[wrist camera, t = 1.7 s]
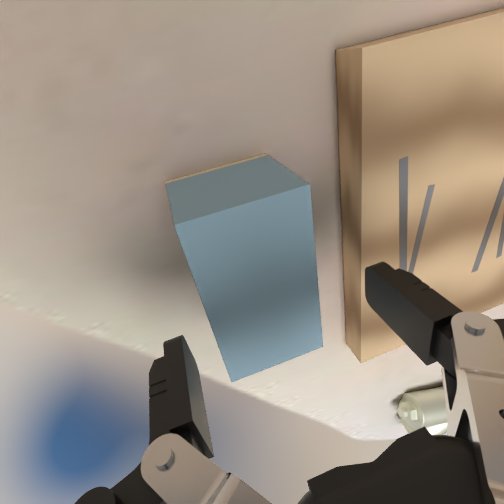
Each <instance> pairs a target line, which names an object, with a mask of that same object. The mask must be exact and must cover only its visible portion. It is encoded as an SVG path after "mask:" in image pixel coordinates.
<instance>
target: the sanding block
mask: <svg viewBox="0 0 504 504" xmlns="http://www.w3.org/2000/svg"><path fill="white" fill-rule="evenodd" d="M165 184H166V189H167V194H168V199H169V204H170V208H171V213H172V218H173V223H174V227H175V229H176V232H177V235H178V238H179V240H180V243H181V246H182V248H183V251H184V254H185V257H186V259H187V262H188V265H189V268H190V270H191V273H192V276H193V278H194V281H195V284H196V287H197V289H198V292H199V295H200V298H201V300H202V303H203V306H204V309H205V311H206V314H207V317H208V319H209V322H210V325H211V328H212V330H213V333H214V336H215V339H216V341H217V344H218V347H219V349H220V352H221V355H222V358H223V360H224V363H225V366H226V369H227V371H228V374H229V377H230V379H231V382H234V381H236V380H239V379H241V378H244V377H246V376H249V375H252V374H254V373H257V372H259V371H262V370H264V369H267V368H270V367H272V366H275V365H277V364H280V363H282V362H285V361H287V360H290V359H293V358H295V357H298V356H300V355H303V354H305V353H308V352H310V351H313V350H316V349H318V348H321V347H323V340H322V327H321V315H320V302H319V290H318V277H317V265H316V252H315V240H314V227H313V215H312V202H311V190H310V184H309V183H307V182H306V181H305V180H303V179H302V178H300V177H299V176H297V175H296V174H295V173H293V172H292V171H290V170H289V169H287V168H286V167H285V166H283V165H282V164H280V163H279V162H277V161H276V160H275V159H273V158H272V157H270V156H269V155H267V154H266V153H265V154H262V155H258V156H254V157H251V158H247V159H244V160H240V161H237V162H233V163H229V164H226V165H222V166H219V167H215V168H211V169H208V170H204V171H201V172H197V173H193V174H190V175H186V176H183V177H179V178H175V179H172V180H168V181H165Z"/></svg>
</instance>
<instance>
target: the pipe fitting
mask: <svg viewBox="0 0 504 504" xmlns="http://www.w3.org/2000/svg"><path fill="white" fill-rule="evenodd" d="M397 412H398V415H399V416H400V417H399V420H400V421H401V423H402V424H403V426H404V427H405V429H406V430H407V431H408V433H411V432H413V431H416V430H418V429H420V428H422V427H424V426H425V427H426V429H427V430H428V431H429V432H430V434H431V435H444V434H445V433H446V432H447V410H446V402H445V395H444V387H438V388H432V389H426V390H421V391H415V392H409V393H404V395H403V397H402V399H401V400H400V402H399V408H398V409H397Z"/></svg>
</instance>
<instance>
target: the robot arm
mask: <svg viewBox="0 0 504 504" xmlns="http://www.w3.org/2000/svg"><path fill="white" fill-rule="evenodd" d="M365 297H366V300H367V302H368V304H369V306H370V307H371V308H372V309H373V310H374V311H375V312H376V313H377V314H378V315H379V317H380V318H381V319H382V320H383V321H384V322H385V323H386V324H387V325H388V326H389V327H390V328H391V329H392V330H393V331H394V332H395V333H396V334H397V335H398V336H399V337H400V338H401V339H402V340H403V341H404V342H405V343H406V345H407V346H408V347H409V348H410V349H411V350H412V351H413V352H414V353H415V354H416V355H417V356H418V357H419V358H420V359H421V360H422V361H423V362H424V363H425V364H426V365H429V364H432V363H434V362H436V361H438V362H439V363H440V364H441V365H442V369H441V372H442V380H443V387H444V395H445V402H446V410H447V435H431V434H430V432H429V431H428V430H427V429H426V427H425V426H424V427H422V428H420V429H418V430H416V431H413V432H411V433H409V434H407V435H405V436H403V437H400V438H398V439H397V440H396V441H395V442H394V443H392V444H391V445H390V446H389V447H388V448H387V449H386V450H385V451H384V452H383V453H382V454H381V455H380V456H379V457H378V458H377V459H376V460H375V461H373V462H370V463H363V464H355V465H347V466H339V467H336V468H334V469H331V470H329V471H327V472H325V473H323V474H321V475H318V476H316V477H314V478H312V479H310V480H308V481H307V482H308V486H309V489H310V490H309V491H308V492H307V493H306V494H305V495H304V496H303V498H302V499H301V500H300V501H299V503H298V504H504V319H496V320H492V319H491V318H489V317H488V316H486V315H483V314H480V313H477V312H468V311H467V312H463V311H462V310H460V309H459V308H458V307H456V306H455V305H454V304H452V303H451V302H450V301H448V300H447V299H446V298H444V297H443V296H442V295H440V294H439V293H438V292H436V291H435V290H434V289H432V288H430V286H428V285H427V284H426V283H424V282H422V280H420V279H419V278H418V277H416V276H415V275H414V274H412V273H410V272H407V271H405V270H402V269H400V268H398V269H396V270H395V269H394V268H392V267H391V266H390V265H389V264H387V263H386V262H383V261H382V262H379V263H377V264H374V265H371V266H369V267H366V268H365ZM149 386H150V388H149V397H150V399H149V411H150V414H149V416H150V442H149V446H148V448H147V450H146V451H145V453H144V455H143V458H142V461H141V463H140V464H139V465H138V466H137V468H135V470H133V471H132V472H131V473H130V474H129V475H128V476H126V477H125V478H124V479H123V480H122V481H120V482H119V483H118V484H116V485H115V486H114V487H113V488H111V489H108V488H106V487H96V488H94V489H91V490H90V491H88V492H86V493H85V494H84V495H83V496H81V497H80V499H78V501H77V502H76V503H75V504H272V503H270V502H269V501H268V500H266V499H265V498H264V497H263V496H261V495H260V494H259V493H258V492H256V491H255V490H254V489H252V488H251V487H250V486H249V485H247V484H246V483H245V482H244V481H242V480H241V479H240V478H238V477H237V476H235V475H234V474H232V473H226V472H225V471H223V470H222V469H220V468H219V467H218V466H217V465H216V464H214V463H213V462H212V461H211V460H209V459H210V458H212V457H214V454H213V449H212V443H211V437H210V432H209V426H208V421H207V415H206V409H205V404H204V398H203V393H202V387H201V382H200V376H199V371H198V367H197V364H196V362H195V359H194V357H193V355H192V353H191V351H190V349H189V347H188V344H187V342H186V340H185V338H184V336H183V335H181V336H178V337H176V338H173V339H170V340H168V341H165V342H164V357H161V358H158V359H156V360H154V362H153V365H152V367H151V369H150V372H149Z"/></svg>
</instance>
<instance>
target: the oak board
mask: <svg viewBox="0 0 504 504" xmlns="http://www.w3.org/2000/svg"><path fill="white" fill-rule="evenodd" d="M336 73H337V100H338V128H339V156H340V183H341V211H342V239H343V266H344V294H345V322H346V344H347V345H348V347H349V348H350V349H351V351H352V352H353V353H354V355H355V356H356V357H357V359H358V360H359V361H360V363H363V362H365V361H367V360H370V359H372V358H374V357H377V356H379V355H382V354H384V353H386V352H389V351H391V350H393V349H396V348H398V347H401V346H403V345H405V344H406V343H405V342H404V341H403V340H402V339H401V338H400V337H399V336H398V335H397V334H396V333H395V332H394V331H393V330H392V329H391V328H390V327H389V326H388V325H387V324H386V323H385V322H384V321H383V320H382V319H381V318H380V317H379V315H378V314H377V313H376V312H375V311H374V310H373V309H372V308H371V307H370V306H369V304H368V302H367V300H366V297H365V268H366V267H369V266H371V265H374V264H377V263H379V262H382V261H383V262H386V263H387V264H389V265H390V266H391V267H392V268H394V269H395V270H396V269H398V268H400V269H402V270H405V271H407V272H410V273H412V274H414V275H415V276H416V277H418V278H419V279H420V280H422V282H424V283H426V284H427V285H428V286H430V288H432V289H434V290H435V291H436V292H438V293H439V294H440V295H442V296H443V297H444V298H446V299H447V300H448V301H450V302H451V303H452V304H454V305H455V306H456V307H458V308H459V309H460V310H462V311H463V312H467V311H468V312H477V313H482V312H484V311H486V310H489V309H491V308H493V307H496V306H498V305H501V304H503V303H504V8H501V9H497V10H493V11H489V12H485V13H481V14H477V15H473V16H469V17H465V18H461V19H457V20H453V21H449V22H445V23H441V24H437V25H433V26H429V27H425V28H421V29H417V30H413V31H409V32H405V33H401V34H397V35H393V36H389V37H385V38H382V39H378V40H374V41H370V42H366V43H362V44H358V45H354V46H350V47H346V48H342V49H338V50H336Z"/></svg>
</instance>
